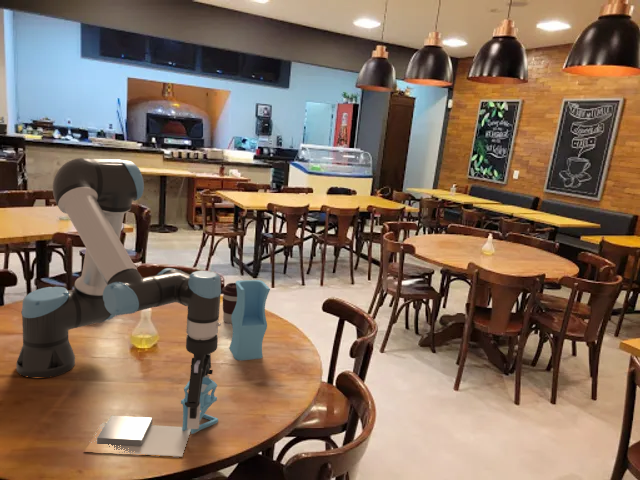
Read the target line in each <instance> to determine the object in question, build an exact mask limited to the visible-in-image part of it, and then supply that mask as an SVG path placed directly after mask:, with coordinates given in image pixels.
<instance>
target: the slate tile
mask: <svg viewBox="0 0 640 480" xmlns="http://www.w3.org/2000/svg"><path fill="white" fill-rule="evenodd" d="M105 423H106V425H105V426H104V428H103V429H102V431H101V432H100V434H99V436H98V437H97V444H111V445H130V446H141V445H142V443H143V441H144V439H145V437H146V435H147V433H148V431H149V429H150V427H151V425H153V417H148V416H146V417H145V416H133V415H132V416H131V415H130V416H128V415H115V414H114V415H113V414H112V415H110V417H109V419H107V422H105Z"/></svg>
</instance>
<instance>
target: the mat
mask: <svg viewBox="0 0 640 480" xmlns="http://www.w3.org/2000/svg"><path fill="white" fill-rule="evenodd" d="M101 423H102V422H101ZM101 423H100V425H99V427H101V426H102V427H101V428H102V429H103V428H104V427H103V426H105V425H106V423H107V422H103V423H102V424H101ZM99 427H98V428H97V430H98V429H99ZM182 427H183V426H172V425H171V426H170V425H155V424H154V425H153V424H152V425H151V427H150V429H149V431H148V433H147V435H146V437H145V439H144V441H143V443H142V445H141V446H130V445H121V446H120V445H116V446H115V445H114V448H115V447H116V450H117V449H118V448H120V447H121V448H120V449H121V450H122V449H123V448H124V449H123V450H125V449H126V450H125V451H128V450H129V451H128V452H129V453H130V454H131V453H132V454H134V453H135V454H145V455H146V454H147V455H160V456H173V457H172V458H179V457H182V458H183V456H184V454H183V453H185V451H184V450H186V448H185V447H187V445H186V444H188V442H187V441H189V439H188V438H190V436H191V433H190V432H191V429H186V430H185V431H183V430H182ZM101 428H100V429H101ZM95 433H96V432H95ZM95 433H94V434H95ZM96 434H97V433H96ZM96 434H95V435H96ZM189 435H190V436H189ZM95 438H96V437H95ZM96 441H97V440H96ZM94 442H95V441H94ZM91 443H92V442H91ZM108 445H109V444H108ZM112 446H113V445H112ZM118 446H119V447H118ZM109 447H110V446H109ZM128 448H129V449H128ZM120 449H118V450H120ZM114 450H115V449H114ZM125 451H124V453H125ZM131 451H132V452H131ZM134 451H135V452H134ZM128 452H126V453H128ZM133 452H134V453H133ZM140 452H141V453H140ZM119 453H120V452H119ZM122 453H123V452H122Z"/></svg>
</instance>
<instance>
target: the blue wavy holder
mask: <svg viewBox="0 0 640 480" xmlns="http://www.w3.org/2000/svg"><path fill="white" fill-rule="evenodd" d="M235 283H236V288H237V303H236V306H235V309H234V311H233V313H232V316H231V319H232V324H231V325H232V336H231V341H230V346H229V347H228V349H229V350H230V352H231V354H232V356H233V358H234V359H235V360H236V361H248V360H259V359H260V360H261V359H262V358H264V357H263V355H264V354H263V340H264V337H265V335H266V334H265V333H266V332H267V329H268V323H267V318H266V304H267V303H266V302H267V299H268V296H269V294H270V291H271V288H270V287H269V286H268V285H267V284H266V282H264V281H263V280H261V279H249V280H248V279H243V280H242V279H239V280H236V281H235Z"/></svg>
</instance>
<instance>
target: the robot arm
mask: <svg viewBox="0 0 640 480" xmlns="http://www.w3.org/2000/svg"><path fill="white" fill-rule="evenodd" d="M144 187H145V184H144V177H143V175H142V172H141V170H140V168H139V167H138V165H136V163H134V162H133V161H131V160H128V159H127V160H126V159H125V160H124V159H119V158H115V159H114V158H112V159H111V158H110V159H109V158H87V157H84V158H83V157H79V158H73V159H71V160H68V161H67V162H65V163H64V164H62V166H60V168H59V169H58V170H57V172H56V173H55V175H54V178H53V182H52V195H53V198H54V201H55V203H56V206H57V207H58V209H59V210H60V211H61V213H64V214H66V215H67V216H68V219H70V221H71V223H72V225H73V226H74V228H75V229H74V230H76V232H77V234H78V235H79V237H80V239H81V241H82V243H83V245H84V246H85V253H84V258H83V266H82V271H81V276H79V277H78V278H77V279H76V280H75V281H74V286H73V289H70V290H68V289H67V288H66V287H62V286H48V287H47V286H46V287H42V288H38V289H35V290H33V291H31V292H29V293H28V294H27V295H26V296H25V297H24V298H23V300H22V307H21V318H22V319H21V320H22V321H21V322H22V347H21V349H20V352H19V355H18V357H17V359H16V363H15V364H16V367H15V368H16V369H15V370H16V373H17V372H18V373H19V374H21V375H23V376H28V377H48V378H51V377H50V376H53V377H56V375H57V376H61V375H63V374H65V373H67V372H69V371H70V370H72V369H73V368H74V367H75V364H76V356H75V353H74V349H73V348H72V345H71V343H70V341H69V330H73V329H78V328H81V327H85V326H88V325H89V326H90V325H94V324H98V323H99V324H100V323H103V322H104V323H105V322H106V321H108V320H111V319H114V318H115V317H117V316H123V315H130V314H131V315H132V314H134V313H136V312H139V311H144V310H147V309H148V310H149V309H152V308H158V307H161V306H166V305H170V304H174V303H178V304H181V305H183V306H185V307H187V316H186V318H187V319H186V339H185V340H186V341H185V349H186V351H187V352H188V353H190V354H193V357H191V364H190V373H189V374H190V375H189V381H190V382H189V381H188V382H189V389H188V390H187V392H188V398H187V402H185V405H186V407H188V419H187V429H199V425H200V422H199V419H200V412H201V410H200V402H199V401H200V395H201V392H202V393H203V392H204V390H205V389H206V387H207V386H208V385H206V384H202V381H203V377H207V378H210V375H213V372H214V371H213V369H211V368H212V360H211V359H212V357H211V354H212V353H215V351H217V349H218V341H219V340H218V339H219V338H218V337H219V336H218V333H219V327H221V326H222V323H221V322H219V317H220V309H221V308H220V306H221V305H220V304H221V295H222V287H221V286H222V285H221V284H222V283H221V280H222V279H221V276H220V275H219V274H218V273H216V272H215V271H208V270H196V271H192V272H191V273H190V274H189V273H187V272H185V271H182V270H181V269H177V268H172V267H166V268H164V269H162V270H161V271H159V272H158V273H157V274H155V275H149V276H145V277H143V276H142V275H141V273H140V272H139V270H138V268H137V267H136V265H135V263H134V262H133V260H132V259H131V257H130V255H129V253H128V251H127V250H126V248H125V246H124V245H123V243H122V241H121V239H120V238H121V233H122V227H123V223H124V217H125V214H127V213H128V212H130V211H131V210H132V205H133V201H135V202H136V201H138V200H140V198H142V197H143V194H144V191H145V188H144ZM18 373H17V374H18ZM19 374H18V375H19ZM21 375H20V376H21ZM23 376H22V377H23ZM209 393H210V391H209V392H208V393H207V394H208V395H209Z"/></svg>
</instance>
